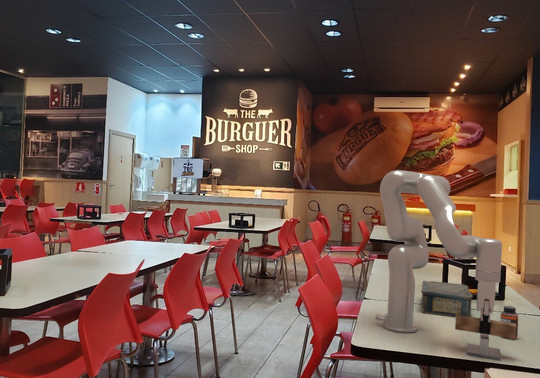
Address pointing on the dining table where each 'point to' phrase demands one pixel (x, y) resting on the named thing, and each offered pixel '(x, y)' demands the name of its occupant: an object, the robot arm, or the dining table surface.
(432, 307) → the metal box
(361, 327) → the dining table surface
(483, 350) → the stand
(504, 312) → the supplement bottle
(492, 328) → the beam
